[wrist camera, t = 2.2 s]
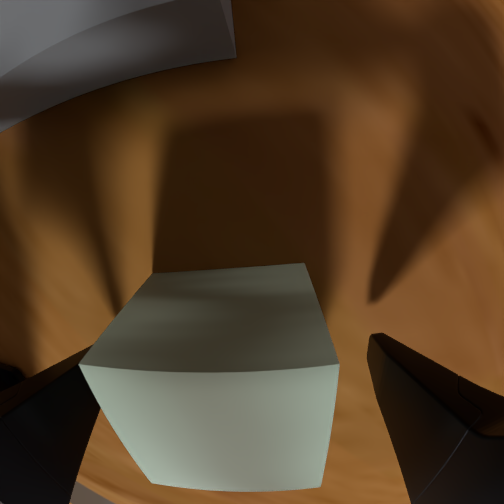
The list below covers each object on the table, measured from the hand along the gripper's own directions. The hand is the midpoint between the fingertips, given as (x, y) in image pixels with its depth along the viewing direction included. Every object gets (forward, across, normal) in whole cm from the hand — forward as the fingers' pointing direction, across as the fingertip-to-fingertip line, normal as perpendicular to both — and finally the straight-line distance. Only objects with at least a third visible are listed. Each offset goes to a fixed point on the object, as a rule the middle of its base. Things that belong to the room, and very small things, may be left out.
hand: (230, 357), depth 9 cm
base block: (+1, +4, -14) cm, 15 cm away
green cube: (+1, 0, 0) cm, 1 cm away
